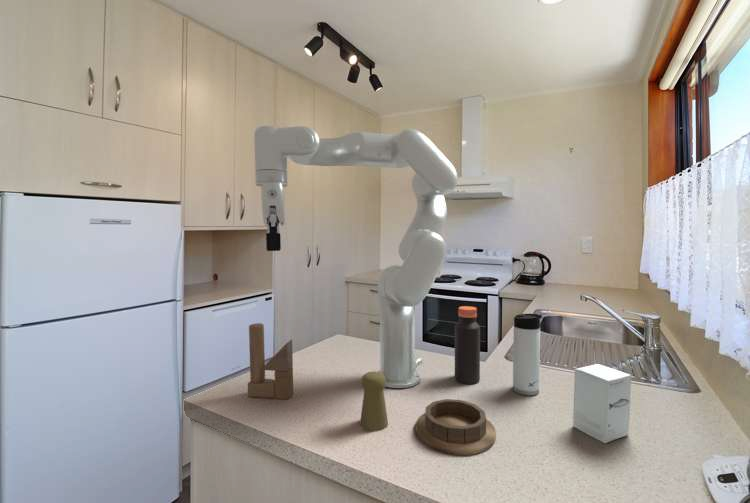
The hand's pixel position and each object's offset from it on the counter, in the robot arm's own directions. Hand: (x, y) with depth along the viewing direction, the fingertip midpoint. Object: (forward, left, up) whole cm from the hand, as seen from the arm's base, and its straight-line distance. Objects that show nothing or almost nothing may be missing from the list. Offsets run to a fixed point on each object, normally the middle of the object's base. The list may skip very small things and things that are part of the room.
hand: (273, 249), depth 92 cm
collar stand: (-13, +43, -37) cm, 58 cm away
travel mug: (-42, +48, -37) cm, 74 cm away
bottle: (-39, +33, -37) cm, 63 cm away
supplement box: (-32, +66, -37) cm, 82 cm away
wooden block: (+1, -1, -37) cm, 37 cm away
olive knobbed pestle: (-5, +28, -37) cm, 47 cm away
